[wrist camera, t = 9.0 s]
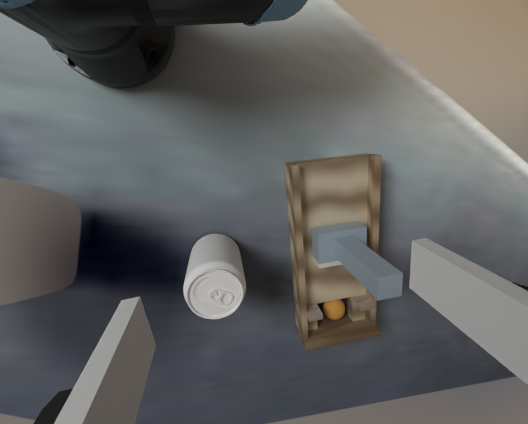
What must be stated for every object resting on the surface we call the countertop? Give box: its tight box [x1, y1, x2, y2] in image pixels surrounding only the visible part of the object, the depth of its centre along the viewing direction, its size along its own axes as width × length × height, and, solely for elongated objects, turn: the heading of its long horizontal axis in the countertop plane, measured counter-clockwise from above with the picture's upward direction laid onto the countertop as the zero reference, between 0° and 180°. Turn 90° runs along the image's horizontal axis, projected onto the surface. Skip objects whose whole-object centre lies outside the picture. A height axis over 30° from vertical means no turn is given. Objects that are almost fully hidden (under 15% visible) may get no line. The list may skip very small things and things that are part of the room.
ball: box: [323, 299, 345, 320], centre depth 49 cm, size 4×4×4 cm
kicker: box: [311, 221, 403, 301], centre depth 37 cm, size 6×8×15 cm
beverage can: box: [183, 234, 246, 319], centre depth 39 cm, size 8×8×12 cm
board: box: [285, 153, 382, 351], centre depth 45 cm, size 32×14×6 cm, turn 6°
